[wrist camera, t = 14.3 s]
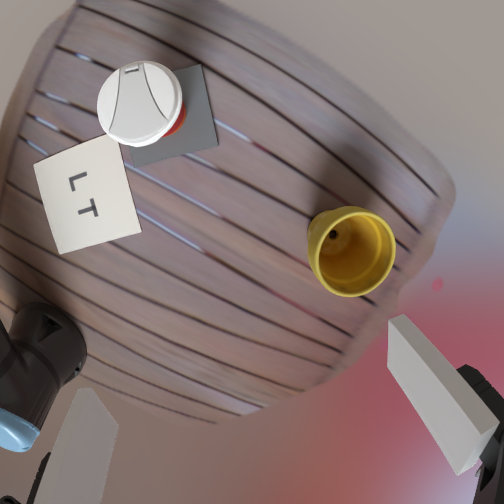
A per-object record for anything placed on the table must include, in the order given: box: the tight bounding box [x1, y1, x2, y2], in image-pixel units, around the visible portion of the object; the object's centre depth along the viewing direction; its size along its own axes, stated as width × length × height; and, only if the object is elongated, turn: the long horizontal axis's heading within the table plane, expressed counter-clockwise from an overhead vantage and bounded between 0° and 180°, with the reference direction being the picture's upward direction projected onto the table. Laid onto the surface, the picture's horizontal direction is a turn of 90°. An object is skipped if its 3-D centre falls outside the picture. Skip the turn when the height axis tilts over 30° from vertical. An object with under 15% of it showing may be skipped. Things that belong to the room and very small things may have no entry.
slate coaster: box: [129, 64, 218, 168], centre depth 35 cm, size 11×11×1 cm
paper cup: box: [97, 61, 186, 147], centre depth 28 cm, size 8×8×14 cm
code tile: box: [34, 134, 142, 254], centre depth 37 cm, size 14×14×1 cm
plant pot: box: [307, 206, 396, 297], centre depth 38 cm, size 10×10×10 cm
